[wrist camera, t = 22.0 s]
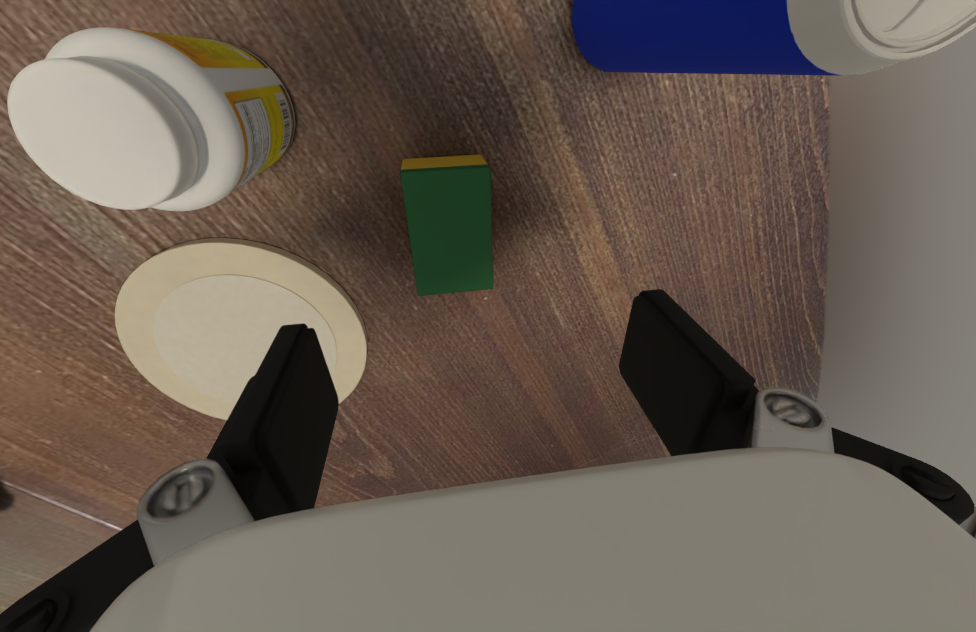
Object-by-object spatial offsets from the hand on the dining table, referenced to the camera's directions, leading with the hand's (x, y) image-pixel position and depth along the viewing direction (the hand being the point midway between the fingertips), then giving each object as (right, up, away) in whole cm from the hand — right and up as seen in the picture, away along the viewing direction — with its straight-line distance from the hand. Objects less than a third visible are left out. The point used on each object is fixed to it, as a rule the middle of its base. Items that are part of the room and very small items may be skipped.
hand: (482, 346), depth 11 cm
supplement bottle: (-12, +11, +8) cm, 19 cm away
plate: (-16, -1, +15) cm, 22 cm away
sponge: (-2, +7, +12) cm, 14 cm away
